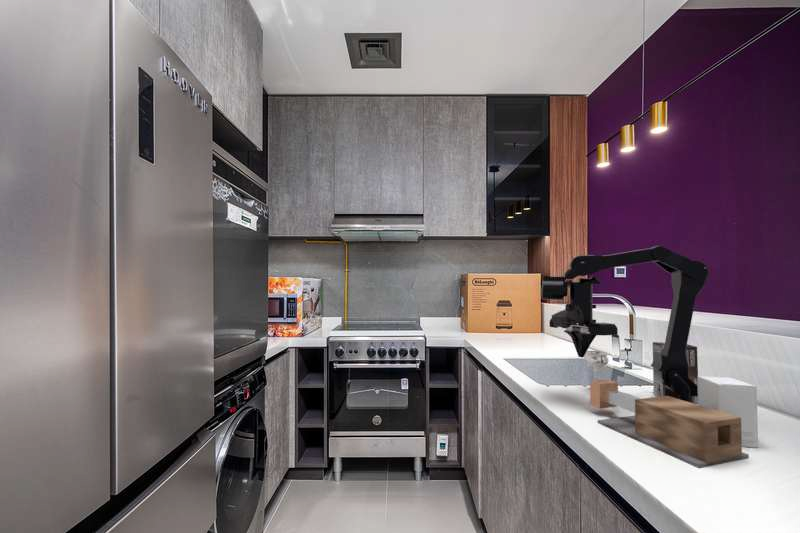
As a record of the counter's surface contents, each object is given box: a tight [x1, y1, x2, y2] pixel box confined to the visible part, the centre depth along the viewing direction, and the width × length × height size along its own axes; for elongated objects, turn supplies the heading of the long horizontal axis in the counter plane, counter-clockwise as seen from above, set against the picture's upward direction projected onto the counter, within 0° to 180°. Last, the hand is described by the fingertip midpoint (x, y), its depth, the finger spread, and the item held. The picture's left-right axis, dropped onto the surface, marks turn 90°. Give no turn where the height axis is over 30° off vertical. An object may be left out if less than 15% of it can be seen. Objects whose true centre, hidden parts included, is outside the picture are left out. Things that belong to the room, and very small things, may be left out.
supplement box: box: [697, 375, 759, 449], centre depth 79 cm, size 7×7×13 cm
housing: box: [597, 396, 750, 469], centre depth 79 cm, size 22×14×8 cm, turn 19°
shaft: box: [589, 379, 642, 413], centre depth 86 cm, size 20×6×6 cm, turn 19°
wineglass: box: [583, 350, 609, 393], centre depth 113 cm, size 7×7×12 cm
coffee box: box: [652, 341, 699, 405], centre depth 107 cm, size 9×6×16 cm
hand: (581, 357), depth 101 cm, fingers closed
